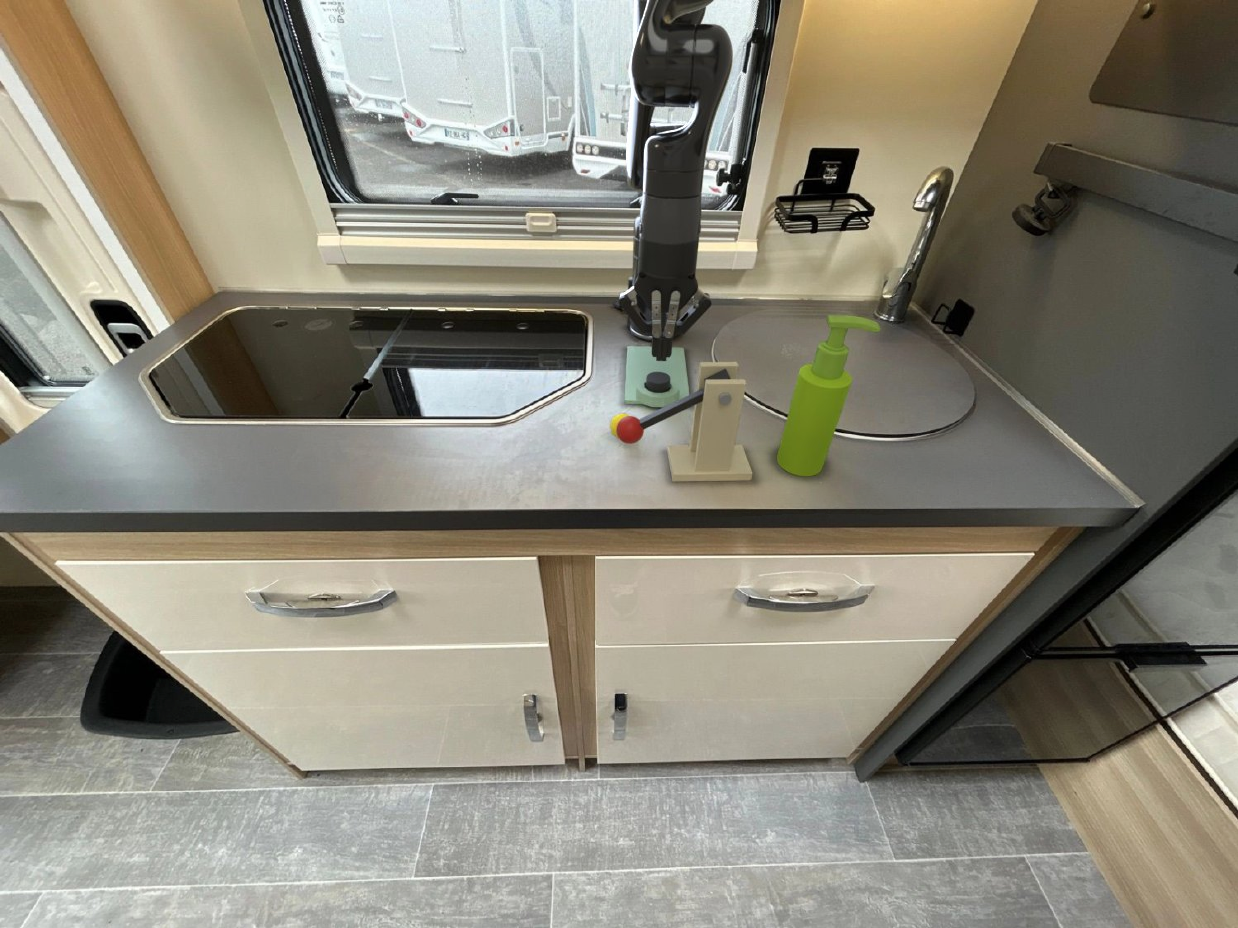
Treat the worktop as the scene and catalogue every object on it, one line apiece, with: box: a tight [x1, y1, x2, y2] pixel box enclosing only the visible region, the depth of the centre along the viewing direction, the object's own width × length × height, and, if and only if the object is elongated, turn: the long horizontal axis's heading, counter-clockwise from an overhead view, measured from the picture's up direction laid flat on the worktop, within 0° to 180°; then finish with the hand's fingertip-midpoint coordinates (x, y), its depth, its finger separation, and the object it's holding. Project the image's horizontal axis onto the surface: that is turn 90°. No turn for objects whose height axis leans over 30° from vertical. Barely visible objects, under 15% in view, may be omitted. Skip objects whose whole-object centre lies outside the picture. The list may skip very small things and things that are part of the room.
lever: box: [616, 369, 731, 445], centre depth 62 cm, size 15×3×3 cm
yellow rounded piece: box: [609, 412, 630, 439], centre depth 73 cm, size 3×6×4 cm, turn 175°
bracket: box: [666, 361, 753, 483], centre depth 64 cm, size 10×6×14 cm, turn 92°
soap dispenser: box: [776, 314, 882, 477], centre depth 63 cm, size 6×7×20 cm
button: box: [646, 372, 671, 393], centre depth 79 cm, size 4×4×2 cm
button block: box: [623, 345, 690, 408], centre depth 85 cm, size 20×10×2 cm, turn 178°
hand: (660, 358), depth 76 cm, fingers closed
